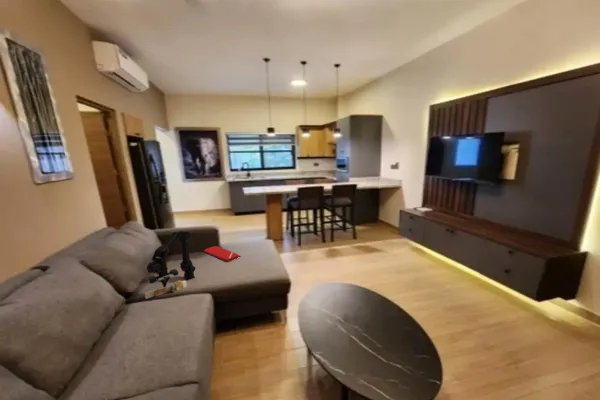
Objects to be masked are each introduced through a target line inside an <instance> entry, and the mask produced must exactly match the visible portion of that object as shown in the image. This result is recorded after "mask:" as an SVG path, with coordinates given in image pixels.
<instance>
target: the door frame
mask: <svg viewBox="0 0 600 400" xmlns="http://www.w3.org/2000/svg"><path fill="white" fill-rule="evenodd" d="M187 281H188V280H186V279H185V280H181V282H182V287H183V288H186V287H187V286H188V284H187V283H188V282H187ZM160 289H162V288H161V287H158V288H154V289H151V290H148V291H146V292H144V298H145V299H147V300H148V299H150V298H153V297H155V294H154V292H155V291H158V290H160Z"/></svg>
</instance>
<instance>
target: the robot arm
mask: <svg viewBox="0 0 600 400" xmlns="http://www.w3.org/2000/svg"><path fill="white" fill-rule="evenodd" d="M177 240H179V242H180V244H181V255H182V261H181V262H180V263H179V268H180V270H181V271H182V272H183V278H184V279H185V281H191V280H192V279H195V278H196V276H195V273H194V272H195V271H196V266H194V265H193V262H192V260H191V259H190V249H189V241H190V240H191V232H190V231H188V230H179V231H173V232H172V233H171V235H170V236H169V237H168V239H167V240H166V241H165V242H164V243H163V244H162V245H161V246H159V247H157V248H156V249H155V250H154V252H153V255H152V258H151V261H150V262H148V265H147V266H146V270H147V272H148V273H150V274H156V275H157V276H155V275H151V276H148V277H147V282H148V283H149V284H154V283H156V282H157V281H158V282H161V285H162V287H163V288H166V287H167V284H168V281H169V279H171V275H172V276H174V277H175V276H178V275H179V271H178V270H177V269H176V268H173V269H170V270H169V272H168V263H167V259H169V256H168V254H169V252H170V249H171V248H172V247H173V245H174V244H175V243H176V241H177Z"/></svg>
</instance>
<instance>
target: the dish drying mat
mask: <svg viewBox="0 0 600 400" xmlns="http://www.w3.org/2000/svg"><path fill="white" fill-rule="evenodd" d="M203 252H204V253H206V254H208V255H211V256H213V257H215V258H218V259H220V260H223V261H226V262H232V260H233V261H235V260H234V259H236V260H238V259H239V258H238V257H241V258H242V256H241V254H240V255H239V254H237V253H236V252H233V251H231V250H228V249H225V248H223V247H221V246H218V245H217V246H216V245H215V246H210V247H208V248H205V249H204V250H203ZM237 258H238V259H237Z"/></svg>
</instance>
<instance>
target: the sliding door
mask: <svg viewBox="0 0 600 400" xmlns="http://www.w3.org/2000/svg"><path fill="white" fill-rule="evenodd" d="M169 292H172V293H174V292H176V289H175V286H173V285H169V286H166V287H163V288H161V289H160V290H158V291H155V292H154V294H155V296H154V297H156V298H157V297H159V296H162V295H164V294H168V293H169Z"/></svg>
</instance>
